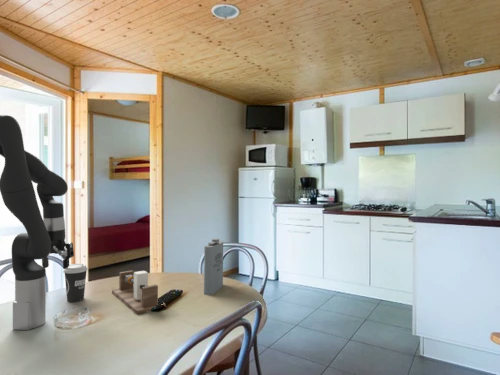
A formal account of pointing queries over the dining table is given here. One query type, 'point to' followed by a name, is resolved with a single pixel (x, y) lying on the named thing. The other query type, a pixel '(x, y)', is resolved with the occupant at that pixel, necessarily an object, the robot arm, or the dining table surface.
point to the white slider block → (139, 282)
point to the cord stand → (127, 294)
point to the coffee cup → (75, 282)
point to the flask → (213, 266)
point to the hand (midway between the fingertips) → (55, 267)
